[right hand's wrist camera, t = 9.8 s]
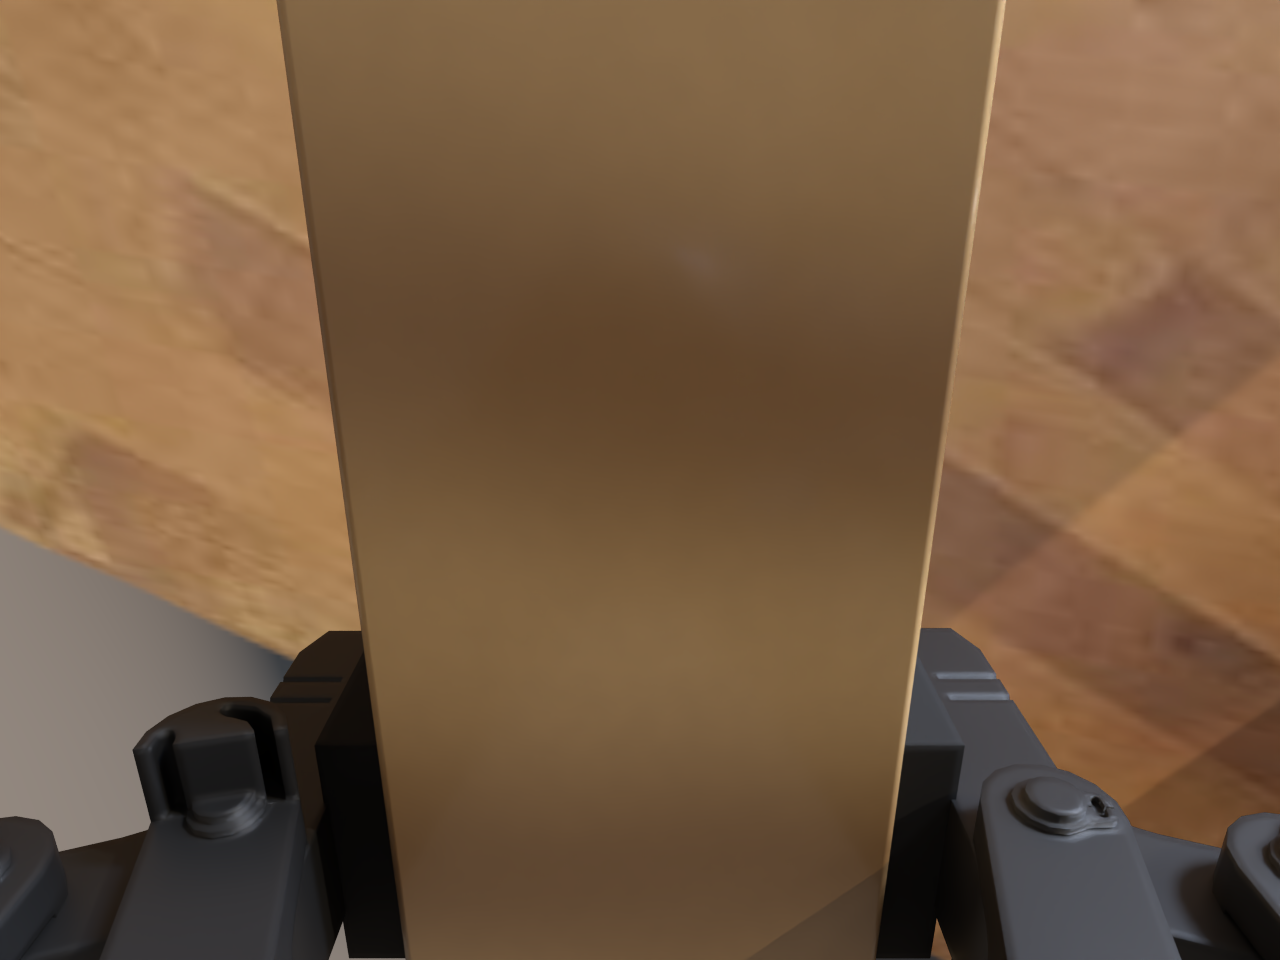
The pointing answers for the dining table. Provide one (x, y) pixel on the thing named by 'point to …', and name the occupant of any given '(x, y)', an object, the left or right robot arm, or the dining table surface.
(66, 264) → the dining table surface
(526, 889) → the post
